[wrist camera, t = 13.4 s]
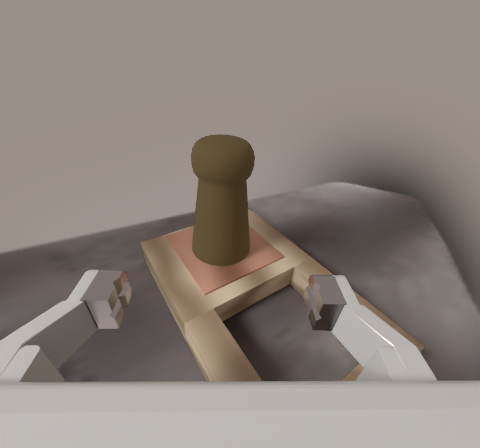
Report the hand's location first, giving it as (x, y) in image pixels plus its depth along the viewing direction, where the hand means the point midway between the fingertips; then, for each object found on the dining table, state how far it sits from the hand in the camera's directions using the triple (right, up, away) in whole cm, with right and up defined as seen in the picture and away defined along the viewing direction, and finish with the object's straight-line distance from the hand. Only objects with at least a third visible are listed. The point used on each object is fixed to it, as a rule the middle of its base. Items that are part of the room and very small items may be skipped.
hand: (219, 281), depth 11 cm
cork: (-1, 0, +15) cm, 15 cm away
